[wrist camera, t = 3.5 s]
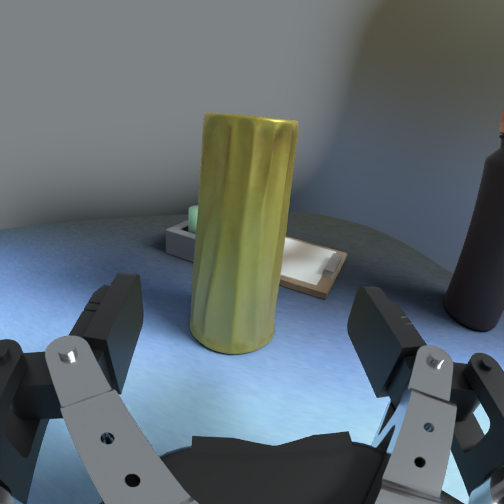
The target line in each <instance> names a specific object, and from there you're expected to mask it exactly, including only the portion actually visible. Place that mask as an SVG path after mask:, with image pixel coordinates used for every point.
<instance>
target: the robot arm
mask: <svg viewBox="0 0 504 504" xmlns="http://www.w3.org/2000/svg"><path fill="white" fill-rule="evenodd" d="M142 324H143V303H142V293H141V282H140V276H139V275H138V274H128V273H118V274H117V275H116V277H115V279H114V281H113V282H112V284H111V286H107V285H104V286H102V287H101V288H100V289H98V290H97V291H95V292H94V293H93V295H92V297H91V298H90V300H89V303H87V305H86V307H85V308H84V311H83V312H82V313H81V315H80V317H79V318H78V320H77V322H76V324H75V325H74V327H73V329H72V331H71V332H70V334H69V336H63V337H60V338H58V339H56V340H54V341H53V342H51V343H50V344H49V346H48V347H47V349H46V352H35V353H23V351H22V349H21V347H20V345H19V344H18V343H17V342H16V341H14V340H10V339H4V340H0V504H27V499H28V495H29V490H30V486H31V481H32V477H33V473H34V469H35V465H36V462H37V458H38V454H39V451H40V447H41V444H42V440H43V437H44V434H45V431H46V427H47V424H48V421H49V419H58V418H64V421H65V423H66V426H67V428H68V430H69V433H70V435H71V438H72V440H73V442H74V444H75V447H76V449H77V451H78V453H79V455H80V457H81V460H82V462H83V464H84V466H85V468H86V470H87V472H88V474H89V476H90V478H91V479H92V481H93V483H94V485H95V487H96V489H97V491H98V492H99V494H100V496H101V498H102V499H103V501H102V502H101V503H99V504H464V503H462V502H461V501H459V500H457V499H456V498H454V497H452V496H451V495H449V494H447V493H446V492H444V491H442V486H443V482H444V478H445V474H446V469H447V465H448V460H449V455H450V450H451V452H452V454H453V456H454V459H455V461H456V464H457V466H458V469H459V471H460V474H461V476H462V479H463V482H464V484H465V487H466V490H467V492H468V495H469V504H504V371H503V370H502V368H501V367H500V365H499V364H498V363H497V361H496V360H495V359H493V358H492V357H491V356H489V355H487V354H484V353H475V354H474V355H472V357H471V359H470V360H469V362H468V364H463V363H455V362H453V361H452V358H451V357H450V356H449V354H448V353H447V352H445V351H444V350H442V349H441V348H439V347H436V346H432V345H427V344H426V343H425V341H424V340H423V339H422V337H421V336H420V334H419V333H418V331H417V330H416V329H415V327H414V326H413V324H411V322H410V320H409V319H408V317H406V315H405V313H404V312H403V310H402V309H401V308H400V307H399V306H398V305H397V304H395V303H394V302H393V301H391V300H389V299H388V298H387V296H386V295H385V294H384V292H383V291H382V290H381V288H380V287H363V286H362V287H360V288H359V289H358V290H357V293H356V296H355V300H354V303H353V306H352V309H351V313H350V316H349V319H348V324H347V329H348V335H349V337H350V339H351V341H352V344H353V346H354V348H355V350H356V352H357V355H358V357H359V359H360V361H361V363H362V366H363V368H364V370H365V372H366V374H367V377H368V379H369V381H370V383H371V386H372V388H373V390H374V393H375V395H376V397H377V398H379V397H386V396H389V397H390V399H391V400H390V402H389V403H388V405H387V407H386V410H385V413H384V415H383V418H382V420H381V423H380V425H379V428H378V430H377V433H376V435H375V437H374V440H373V442H372V444H371V446H370V445H367V444H363V443H358V442H352V441H351V438H350V434H349V431H347V432H339V433H330V434H320V435H312V436H309V437H306V438H303V439H299V440H296V441H292V442H289V443H285V444H282V445H278V446H271V445H265V444H260V443H255V442H250V441H245V440H240V439H236V438H222V437H201V436H192V446H191V447H184V448H180V449H176V450H173V451H170V452H168V453H165V454H163V455H161V456H158V455H157V453H156V452H155V450H154V449H153V448H152V446H151V445H150V443H149V442H148V440H147V439H146V437H145V436H144V434H143V433H142V431H141V430H140V428H139V427H138V425H137V424H136V422H135V421H134V419H133V418H132V416H131V414H130V413H129V411H128V409H127V408H126V406H125V405H124V403H123V401H122V399H121V398H120V396H119V394H121V393H122V390H123V386H124V383H125V379H126V376H127V373H128V369H129V366H130V363H131V359H132V356H133V353H134V350H135V347H136V344H137V341H138V338H139V334H140V331H141V328H142ZM480 403H481V405H482V406H483V408H484V410H485V412H486V413H487V415H488V417H489V419H490V429H489V431H488V432H487V434H486V435H484V433H483V431H482V429H481V427H480V425H479V423H478V421H477V420H476V418H475V416H474V414H473V412H474V411H475V409H476V408H477V407H478V406H479V404H480Z"/></svg>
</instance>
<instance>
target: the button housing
mask: <svg viewBox="0 0 504 504" xmlns="http://www.w3.org/2000/svg"><path fill="white" fill-rule="evenodd" d="M188 222H189V220H187V221H184V222H182V223H180V224H178V225H176V226H173V227H171V228H169V229H167V230H166V253H168V254H171V255H174V256H177V257H180V258H183V259H185V260H188V261H191V262H194V251H195V237H196V234H193V233H190V232H188Z"/></svg>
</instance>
